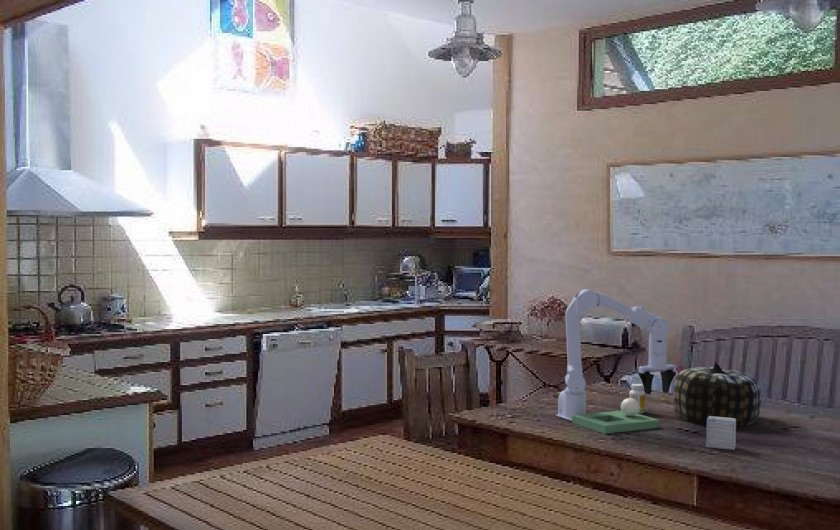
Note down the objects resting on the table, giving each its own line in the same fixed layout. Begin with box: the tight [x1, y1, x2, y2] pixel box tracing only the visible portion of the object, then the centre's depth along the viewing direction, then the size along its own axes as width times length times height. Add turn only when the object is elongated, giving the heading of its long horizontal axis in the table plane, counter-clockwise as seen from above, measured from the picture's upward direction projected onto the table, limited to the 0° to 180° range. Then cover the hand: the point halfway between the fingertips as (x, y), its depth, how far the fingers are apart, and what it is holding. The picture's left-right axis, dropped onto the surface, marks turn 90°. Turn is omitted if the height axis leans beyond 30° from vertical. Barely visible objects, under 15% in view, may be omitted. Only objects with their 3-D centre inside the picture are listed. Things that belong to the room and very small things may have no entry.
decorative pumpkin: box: [673, 361, 762, 427], centre depth 292 cm, size 30×29×20 cm
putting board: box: [571, 410, 660, 435], centre depth 279 cm, size 17×22×2 cm
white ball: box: [620, 397, 639, 416], centre depth 282 cm, size 6×6×6 cm
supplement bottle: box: [628, 383, 646, 414], centre depth 301 cm, size 5×5×10 cm
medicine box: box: [705, 416, 737, 451], centre depth 252 cm, size 8×4×9 cm, turn 65°
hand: (656, 393), depth 287 cm, fingers open, 7 cm apart
